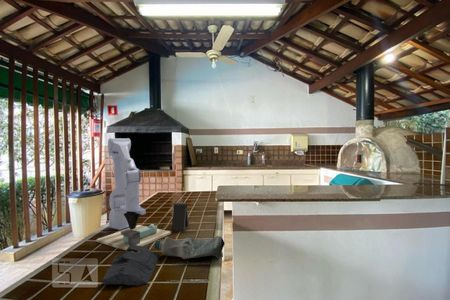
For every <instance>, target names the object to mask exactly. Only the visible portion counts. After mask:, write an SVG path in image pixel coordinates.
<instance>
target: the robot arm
mask: <svg viewBox="0 0 450 300" xmlns="http://www.w3.org/2000/svg"><path fill="white" fill-rule="evenodd" d="M107 141H108V142H107V151H108V156H110V157H112V161H113V163H112V164H113V172H114V173H113V174H114V188H115V189H114V190H113V191H112V192H110V194H109V201H108V203H109V208H110V209H111V210H110V211H109V215H108V216H109V217H108V221H109V222H108V224H109V225H107V228H110V229H114V230H118V231H122V230H125V229H128V228H130V229H131V230H132V229H135V228H136V226H137V225H138V224H137V223H138V220H139V218H140V216H144V215H146V214H147V213H146V211H147V209H146V208H143V207H141V205H140V183H141V180H142V174H141V170H140V169H139V168H137V166H136V164H135V161H134V159H133V158H131V155H130V151H131V146H132V141H131V139H130V138H129V137H127V138H116V137H115V138H112V137H109V138H108V140H107Z"/></svg>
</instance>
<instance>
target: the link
mask: <svg viewBox="0 0 450 300" xmlns="http://www.w3.org/2000/svg"><path fill="white" fill-rule="evenodd" d="M157 229H158V226H157V225H155V224H153V223H151V224H150V225H148V226H147V227H146V228H144V229H141V230H138V231H139V232H140V238H142V237H145V236H148V235H150V234H154V233H156V232H157ZM123 242H126V243H129V236H125V235H124V236H123Z"/></svg>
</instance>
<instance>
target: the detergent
mask: <svg viewBox="0 0 450 300" xmlns="http://www.w3.org/2000/svg"><path fill="white" fill-rule="evenodd" d="M224 246H225V241H224V238H223V237H222V236H221V235H217V236H214V237H212V238H208V239H198V238H197V239H196V238H192V237H186V238H184V239H183V240H178V239H175V238H172V237H169V236H165V237H164V240H156V242H155V244H154V249H156V250H158V251H161V253H162V254H163V255H164V256H166V257H178V258H182V259H183V260H186V259H187V260H188V259H193V258H194V259H195V258H202V257H203V258H204V257H209V256H214V257H215V258H217V259H219V258H220V257H221V254H222V250H223V249H224Z"/></svg>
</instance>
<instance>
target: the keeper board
mask: <svg viewBox="0 0 450 300" xmlns="http://www.w3.org/2000/svg"><path fill="white" fill-rule="evenodd" d="M146 227H148V226H146V225H141V224H136V228H135V229H132V230H131V229H130V228H129V227H127V228H124V229H121V230H118V231H116V232H114V233H111V234H108V235H105V236H102V237H99V238H97V239H96V242H97V243H99V244H104V245H106V246H109V247H113V248H116V249H120V250H122V251H125V252H127V248H128V247H129V246H130V245H131V244H134V245H137V246H144V247H145V246H147V245H149V244H151V243H153V242H155V241H159V240H160V239H162V238H166V237H168V236H170V235H171V234H172V231H169V230H165V229H159V228H157V232H156V233H154V234H150V235H148V236H145V237H142V238H140V232H139V231H138V230H141V229H144V228H146ZM124 235H125V236H129V243H126V242H123V236H124Z"/></svg>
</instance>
